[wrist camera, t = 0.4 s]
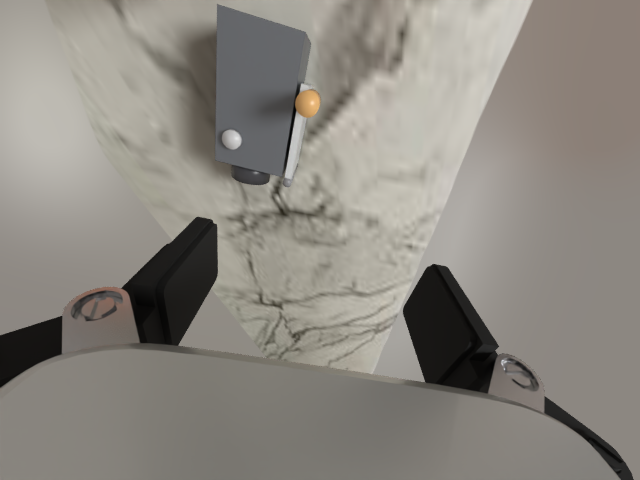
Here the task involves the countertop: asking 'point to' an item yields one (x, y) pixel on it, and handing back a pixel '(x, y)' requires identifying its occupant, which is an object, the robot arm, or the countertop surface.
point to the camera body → (256, 93)
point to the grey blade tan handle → (300, 126)
